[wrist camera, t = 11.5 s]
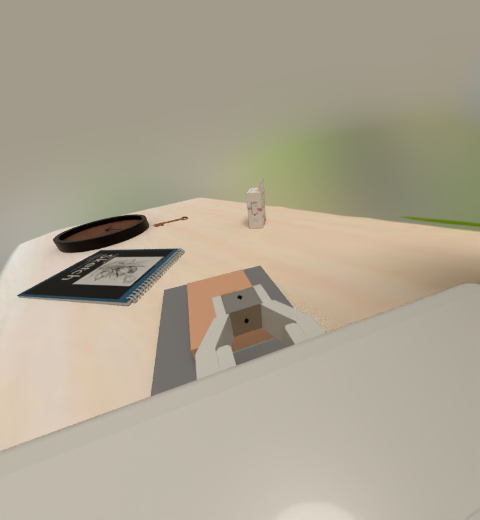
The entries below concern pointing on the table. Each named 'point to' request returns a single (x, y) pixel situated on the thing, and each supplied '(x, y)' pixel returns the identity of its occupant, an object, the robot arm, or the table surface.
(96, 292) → the sketchbook
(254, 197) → the ink cartridge box
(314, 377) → the robot arm
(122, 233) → the wall clock
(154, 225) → the key
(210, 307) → the tile
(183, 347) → the mat
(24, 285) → the table surface
